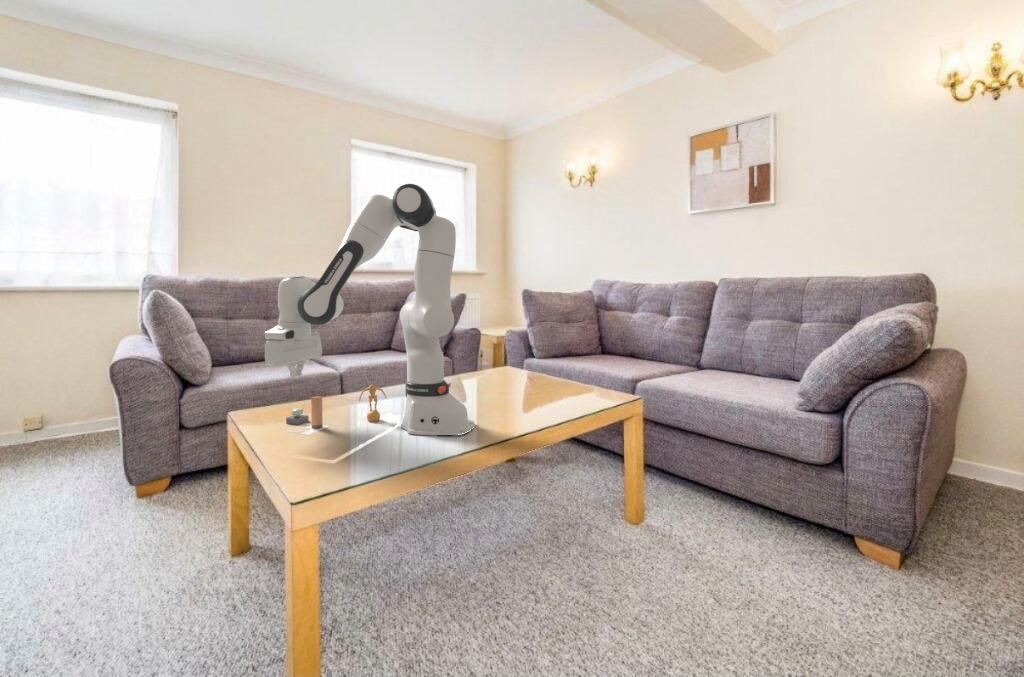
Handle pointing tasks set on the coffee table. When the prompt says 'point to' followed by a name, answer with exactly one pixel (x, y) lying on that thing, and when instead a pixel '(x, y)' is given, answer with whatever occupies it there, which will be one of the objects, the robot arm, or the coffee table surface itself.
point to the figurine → (373, 414)
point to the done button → (297, 412)
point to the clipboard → (303, 428)
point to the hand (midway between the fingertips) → (296, 376)
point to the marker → (316, 412)
